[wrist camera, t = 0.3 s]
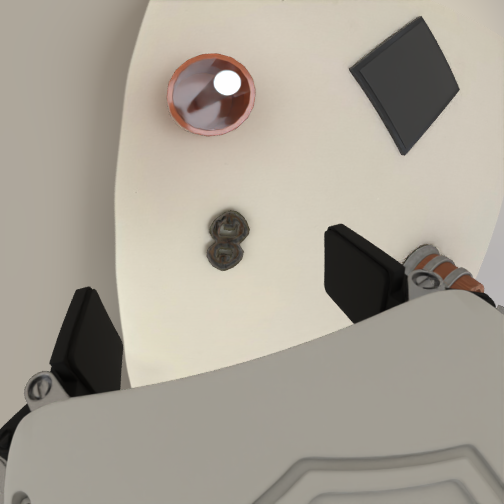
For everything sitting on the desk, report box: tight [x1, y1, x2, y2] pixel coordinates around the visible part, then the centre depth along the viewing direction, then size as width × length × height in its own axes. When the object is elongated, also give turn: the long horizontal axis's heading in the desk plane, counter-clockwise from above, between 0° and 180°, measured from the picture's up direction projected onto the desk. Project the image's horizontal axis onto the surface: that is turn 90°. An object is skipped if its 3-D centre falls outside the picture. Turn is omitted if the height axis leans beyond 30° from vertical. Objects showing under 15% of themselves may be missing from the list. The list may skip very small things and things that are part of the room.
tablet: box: [349, 16, 460, 155], centre depth 32 cm, size 16×22×1 cm
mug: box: [403, 245, 484, 293], centre depth 46 cm, size 14×19×15 cm
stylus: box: [195, 70, 241, 108], centre depth 21 cm, size 2×2×14 cm
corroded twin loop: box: [207, 211, 250, 271], centre depth 35 cm, size 5×8×1 cm, turn 168°
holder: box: [167, 53, 256, 136], centre depth 24 cm, size 8×8×8 cm
